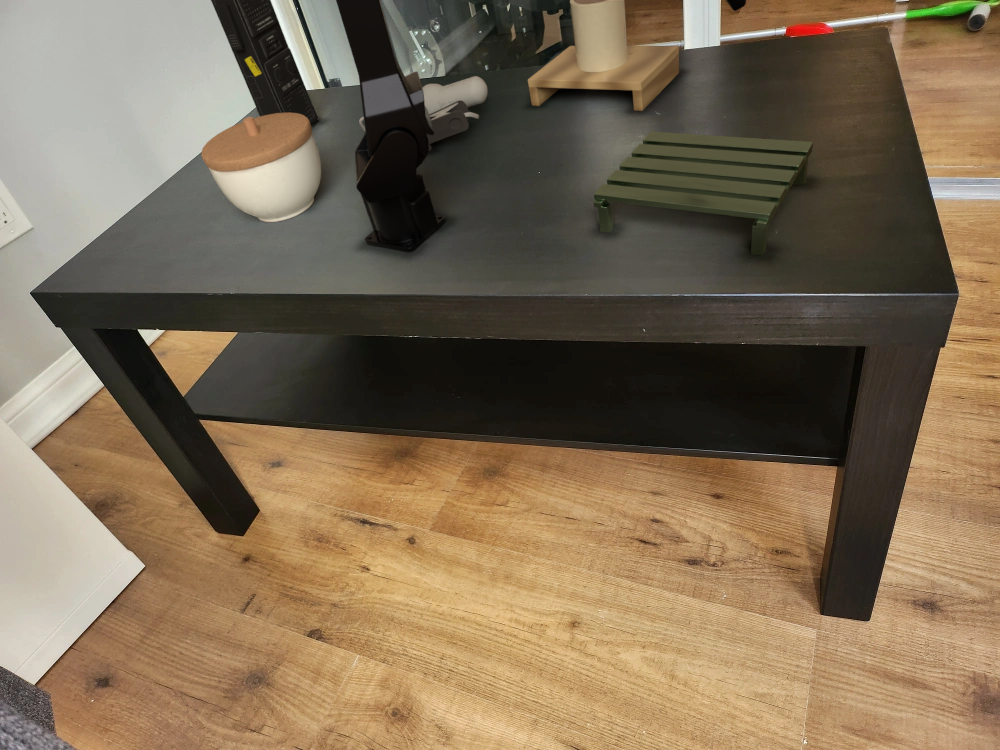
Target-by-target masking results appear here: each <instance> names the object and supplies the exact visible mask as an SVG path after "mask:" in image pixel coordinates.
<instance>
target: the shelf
mask: <svg viewBox="0 0 1000 750" xmlns="http://www.w3.org/2000/svg"><path fill="white" fill-rule="evenodd" d="M627 48H628V61H627V62H626V63H625V64H624V65H622V66H620V67H618V68H615V69H612V70H608V71H603V72H584V71H581V70H579V69H578V67H577V60H576V51H575V45H569V46H568V47H567V48H565V49H563V50H562V51H561V53H559V54H558V55H557V56H555V57H554V58H552V60H550V61H549V62H548V63H546V64H545V65H544V66H543V67H541V69H539V70H537V72H535V73H534V74H533V75H531V76H530V77H529V78H528V79H527V84H528V90H529V97H530V103H531V106H533V107H540V106H541V105H542V104H544V103H545V102H546V101H547V100H549V98H551V97H552V96H553V95H554V94H555V93H556V92H558V91H559V90H560V89H573V90H574V89H577V90H578V89H579V90H581V89H582V90H608V91H609V90H610V91H632V104H633V111H635V112H637V111H638V112H643V111H644V110H645V109H646V108H647V107H648V106H649V105H650V104H651V103H652V101H654V100H655V99H656V98H657V96H658V95H660V94H661V93H662V91H663V90H664V89H666V87H667V86H668V85H669V84H670V83H671V82H672V81H673V80H674V79H675V78H676V77H677V76H678V75H679V74H680V45H627Z"/></svg>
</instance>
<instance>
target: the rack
mask: <svg viewBox="0 0 1000 750" xmlns="http://www.w3.org/2000/svg"><path fill="white" fill-rule="evenodd" d="M813 146H814V141H806V140H805V141H804V140H789V139H788V140H787V139H775V138H774V139H773V138H756V137H743V136H742V137H740V136H726V135H710V134H694V133H680V132H679V133H676V132H661V131H649V133H648V134H647V135H646V136H644V138H643V139H642V143H639V144H638V145H637V146H636V147H635V148H634V149H633V150H632V151H631V153H630V154H631V156H627V157H625V159H624V160H622V162H621V163H620V164H619V167H618V168H619V169H615V170H614V171H613V172H612V173H611V174H610V175H609V177H607V179H606V183H602V184H601V185H600V186H599V188H597V189H596V191H595V192H594V193H593V199H594V201H593V202H592V203H593V207H594V208H595V209H597V214H598V223H599V232H600V233H605V234H610V233H611V232H612V230H613V229H614V220H613V219H614V217H613V209H612V203H613V202H614V203H619V204H620V203H622V204H628V205H629V204H630V205H639V206H646V207H654V208H661V209H662V208H663V209H672V210H679V211H680V210H681V211H688V212H695V213H705V214H713V215H719V216H722V215H723V216H727V217H729V216H730V217H737V218H744V219H745V218H746V219H754V220H755V221H754V222H753V224H752V226H751V227H752V228H751V244H750V247H751V248H750V254H751V255H756V256H764V254H765V253H766V251H767V243H768V242H767V241H768V226H769V225H770V223H771V221H772V219H773V218H774V216H775V214H776V213H777V211H778V209H779V207H780V206H781V204H782V203H783V202H784V199H785V198H786V196H787V194H788V193H789V191H790V189H791V188H792V186H793V185H795V186H796V185H797V186H804V184H805V183H806V181H807V175H808V165H809V157H810V156H811V154H812V152H813V148H814V147H813Z"/></svg>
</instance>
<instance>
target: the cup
mask: <svg viewBox="0 0 1000 750" xmlns="http://www.w3.org/2000/svg"><path fill="white" fill-rule="evenodd" d="M569 6H570V15H571V25H572V33H573V41H574V46H575V51H576V60H577V67H578V69H579V70H581V71H584V72H603V71H608V70H612V69H615V68H618V67H620V66H622V65H624V64H625V63H626V62H627V61H628V48H627V46H628V35H627V20H626V5H625V0H569Z"/></svg>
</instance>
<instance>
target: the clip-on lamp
mask: <svg viewBox="0 0 1000 750" xmlns="http://www.w3.org/2000/svg"><path fill="white" fill-rule="evenodd" d="M422 89H423V92H424V103H425V106H426V108H427V109H428V113H429V117H430V120H431V124H432V127H433V131H434V135H429V134H427V137H428V144H429V151H428V152H430V151H431V150H432V148H433V146H432V144H433V143H435V142H438V141H441V140H443V139H446V138H449V137H452V136H454V135H458V134H460V133H463V132H465V131H467V130H468V129H469V126H470V123H469V121H468V120H470V118H474V119H476V120H479V119H480V115H479V114H478V113H475V112H471V111H470V110H469V108H471V107H474V106H477V105H480V104H483V103H485V101H487V100H486V99H487V97H488V92H489V90H488V85H487V83H486V82H485V80H484V79H483V78H481V77H480V76H477V75H474V76H470V77H468V78H465V79H461V80H459V81H455V82H452V83H448V84H445V85H441V84H439V83H428V84H425V85H424V86H422ZM363 121H364V116H362V117H360V118H359V120H358V123H359V126H360V128H361V129H362V130H363V131H364V132H365V133H366V131H365V124H364V123H363Z"/></svg>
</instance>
